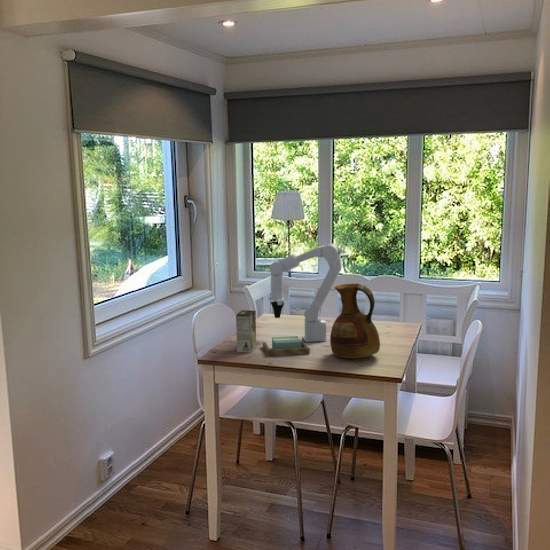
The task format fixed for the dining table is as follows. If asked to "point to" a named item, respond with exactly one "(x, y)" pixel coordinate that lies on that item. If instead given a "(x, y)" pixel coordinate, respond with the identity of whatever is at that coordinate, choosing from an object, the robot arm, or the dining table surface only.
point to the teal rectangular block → (286, 342)
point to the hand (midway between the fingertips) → (277, 317)
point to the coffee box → (246, 331)
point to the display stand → (287, 350)
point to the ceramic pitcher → (354, 325)
